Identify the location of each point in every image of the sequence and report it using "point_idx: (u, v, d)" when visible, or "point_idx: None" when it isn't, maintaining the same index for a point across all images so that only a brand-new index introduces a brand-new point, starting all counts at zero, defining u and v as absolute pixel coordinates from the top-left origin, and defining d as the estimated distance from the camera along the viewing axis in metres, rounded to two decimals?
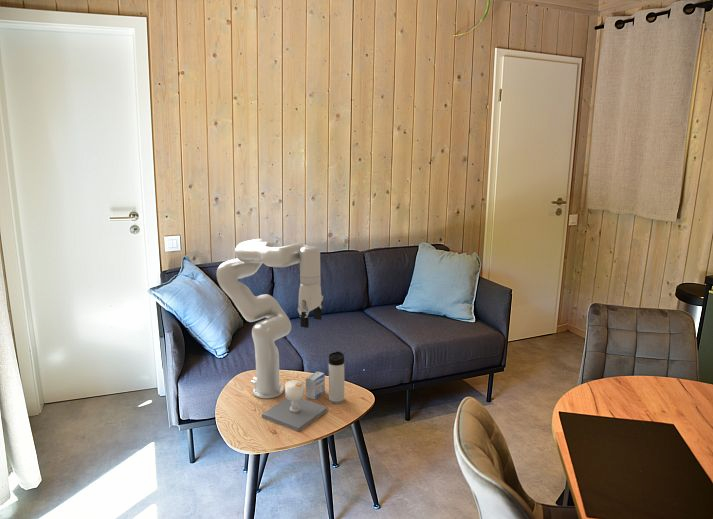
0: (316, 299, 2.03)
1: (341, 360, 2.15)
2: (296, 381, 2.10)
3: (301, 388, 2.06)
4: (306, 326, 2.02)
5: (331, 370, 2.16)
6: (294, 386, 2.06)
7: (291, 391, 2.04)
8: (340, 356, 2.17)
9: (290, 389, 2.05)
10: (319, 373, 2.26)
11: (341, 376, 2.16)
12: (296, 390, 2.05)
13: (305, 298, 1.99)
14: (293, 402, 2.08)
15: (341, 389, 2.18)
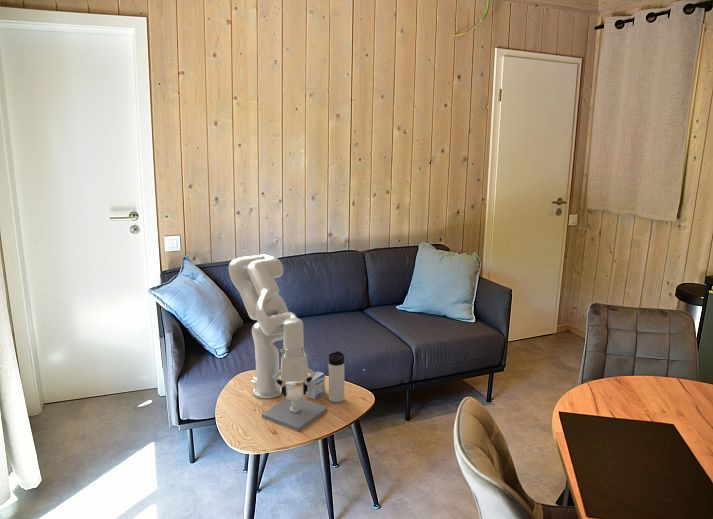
0: None
1: (341, 360, 2.15)
2: (296, 381, 2.10)
3: (301, 388, 2.06)
4: None
5: (331, 370, 2.16)
6: (294, 386, 2.06)
7: (291, 391, 2.04)
8: (340, 356, 2.17)
9: (290, 389, 2.05)
10: (319, 373, 2.26)
11: (341, 376, 2.16)
12: (296, 390, 2.05)
13: None
14: (293, 402, 2.08)
15: (341, 389, 2.18)
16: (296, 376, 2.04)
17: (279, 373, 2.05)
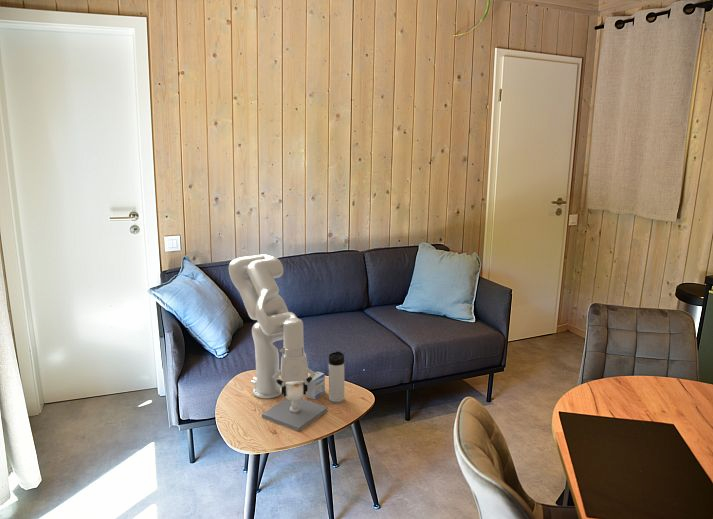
0: None
1: (341, 360, 2.15)
2: (298, 382, 2.09)
3: (298, 389, 2.05)
4: None
5: (331, 370, 2.16)
6: (292, 386, 2.06)
7: (287, 390, 2.05)
8: (340, 356, 2.17)
9: (287, 388, 2.05)
10: (319, 373, 2.26)
11: (341, 376, 2.16)
12: (292, 390, 2.04)
13: None
14: (293, 402, 2.08)
15: (341, 389, 2.18)
16: (296, 376, 2.04)
17: (279, 373, 2.05)
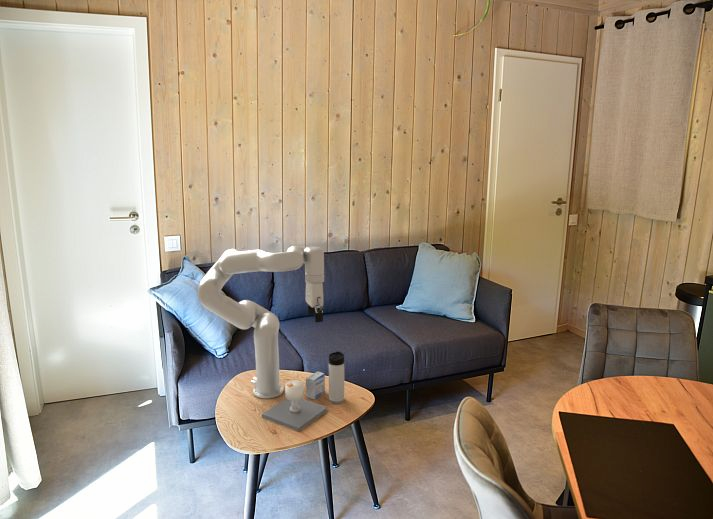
0: None
1: (341, 360, 2.15)
2: (299, 385, 2.06)
3: (286, 388, 2.06)
4: (321, 320, 2.17)
5: (331, 370, 2.16)
6: None
7: None
8: (340, 356, 2.17)
9: None
10: (319, 373, 2.26)
11: (341, 376, 2.16)
12: (285, 386, 2.08)
13: (320, 294, 2.15)
14: (293, 402, 2.08)
15: (341, 389, 2.18)
16: (308, 300, 2.18)
17: None
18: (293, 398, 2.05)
